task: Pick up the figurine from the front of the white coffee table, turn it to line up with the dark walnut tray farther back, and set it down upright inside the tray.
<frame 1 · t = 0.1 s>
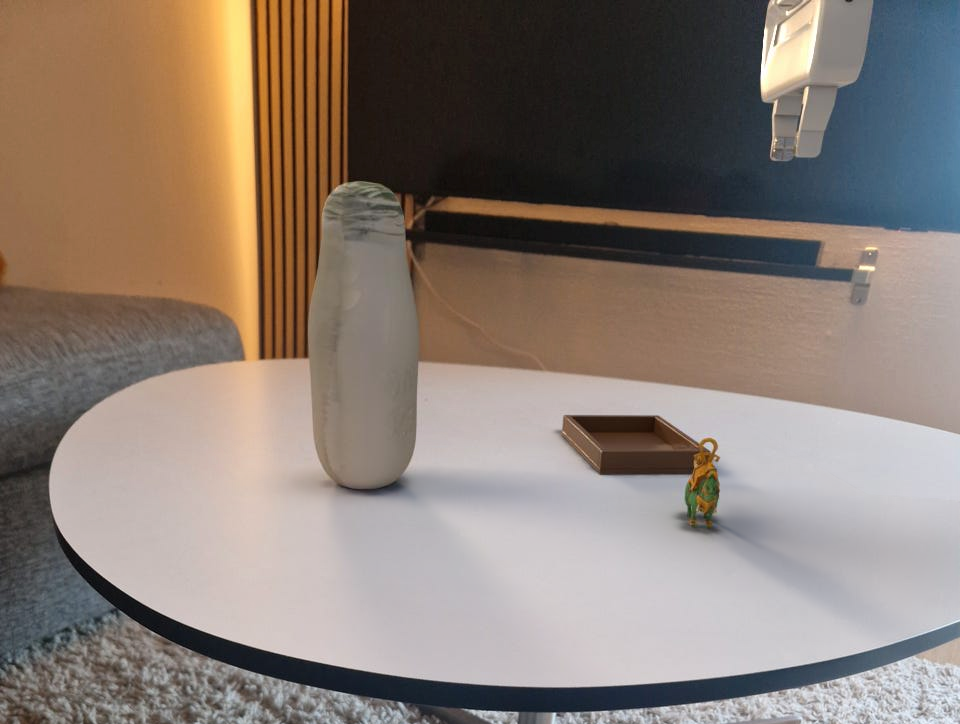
hand: (792, 159, 76), 31 cm above the table, tool pointing down, fingers open, 8 cm apart
walnut tray: (630, 453, 111), on the table
figurine: (696, 525, 88), on the table
grey tall rounded cylinder: (366, 487, 95), on the table
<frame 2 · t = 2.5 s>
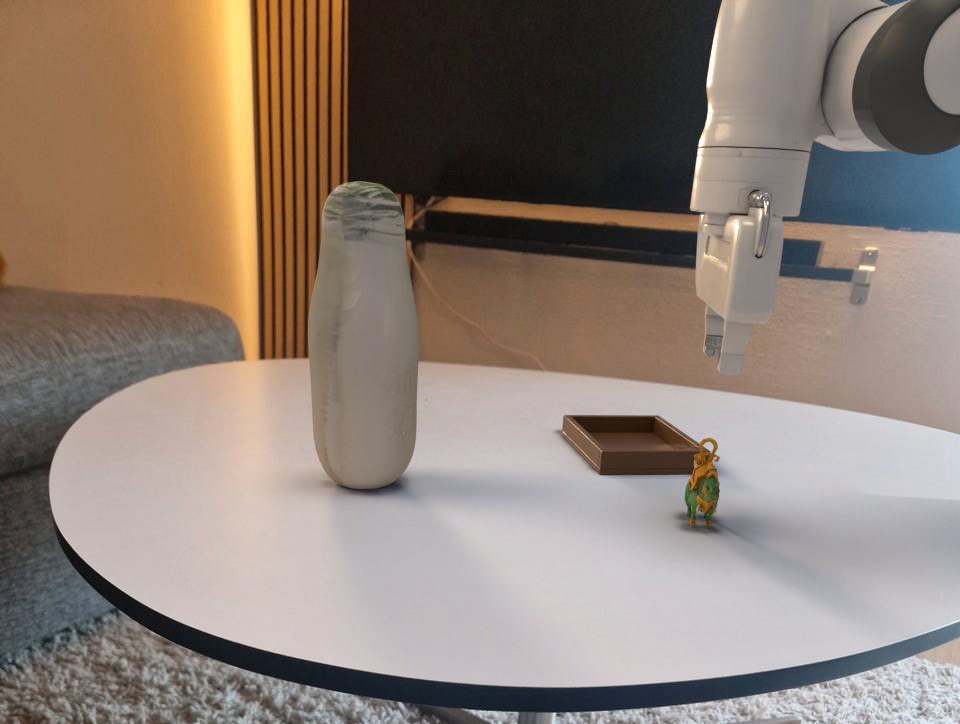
hand: (720, 364, 82), 15 cm above the table, tool pointing down, fingers open, 8 cm apart
nothing on the table moved.
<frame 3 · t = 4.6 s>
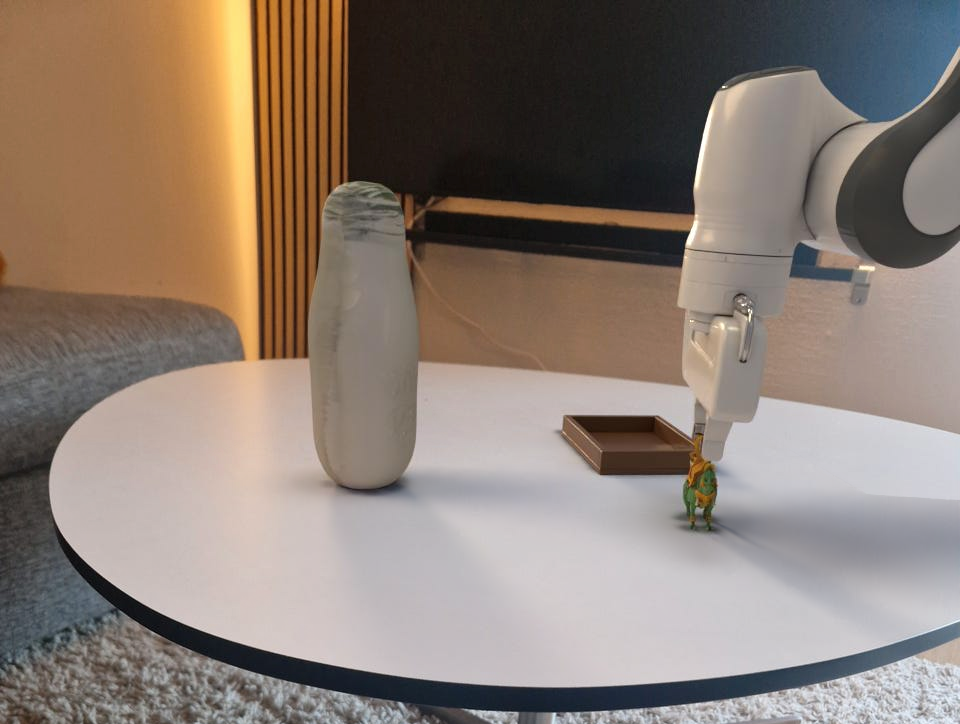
hand: (705, 450, 84), 7 cm above the table, tool pointing down, fingers closed on figurine, 4 cm apart
figurine: (696, 524, 88), on the table, touching gripper
everything else where it was.
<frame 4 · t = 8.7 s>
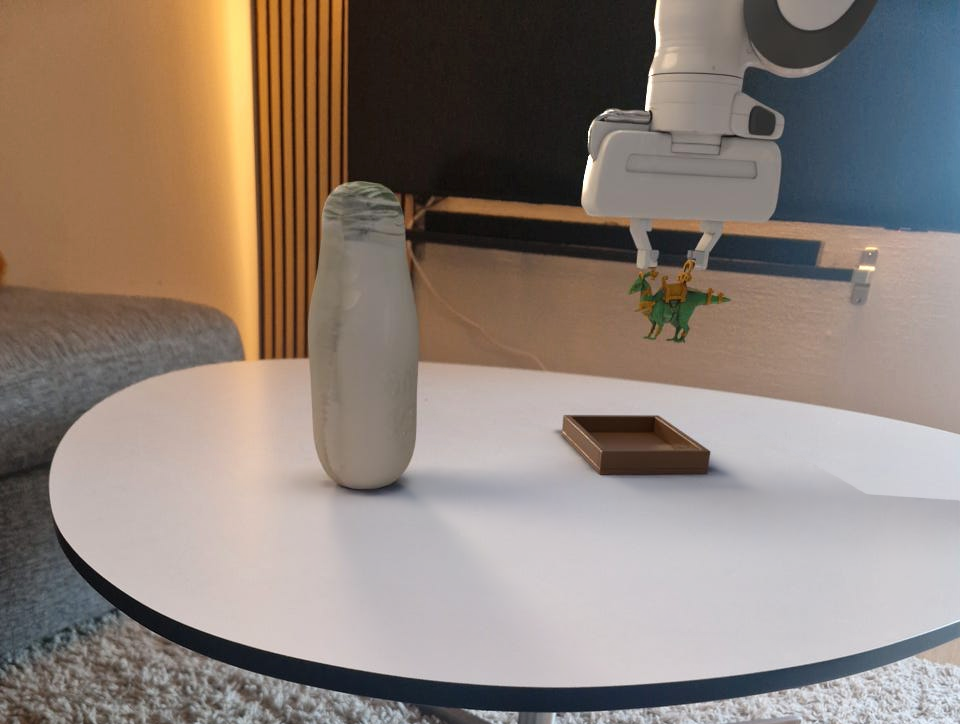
hand: (671, 269, 95), 21 cm above the table, tool pointing down, fingers closed on figurine, 4 cm apart
figurine: (672, 344, 98), point 14 cm above the table, touching gripper
everything else where it was.
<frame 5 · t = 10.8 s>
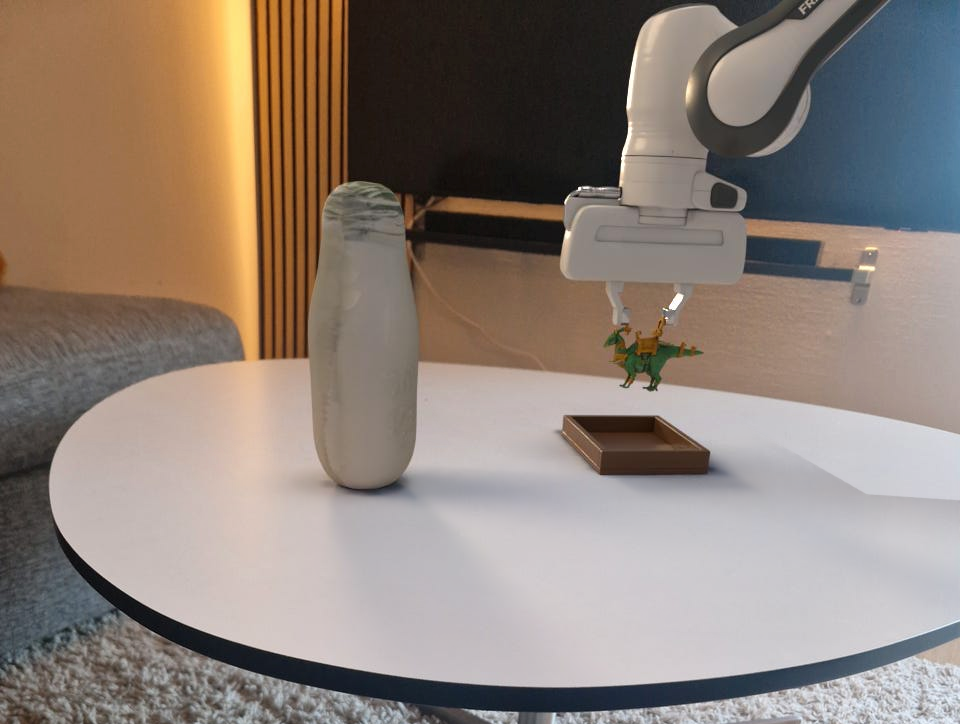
hand: (645, 325, 104), 15 cm above the table, tool pointing down, fingers closed on figurine, 4 cm apart
figurine: (646, 392, 107), point 7 cm above the table, touching gripper
everything else where it was.
when the fingers open (8 cm above the table, at t = 12.8 s): figurine stays where it is, resting on walnut tray.
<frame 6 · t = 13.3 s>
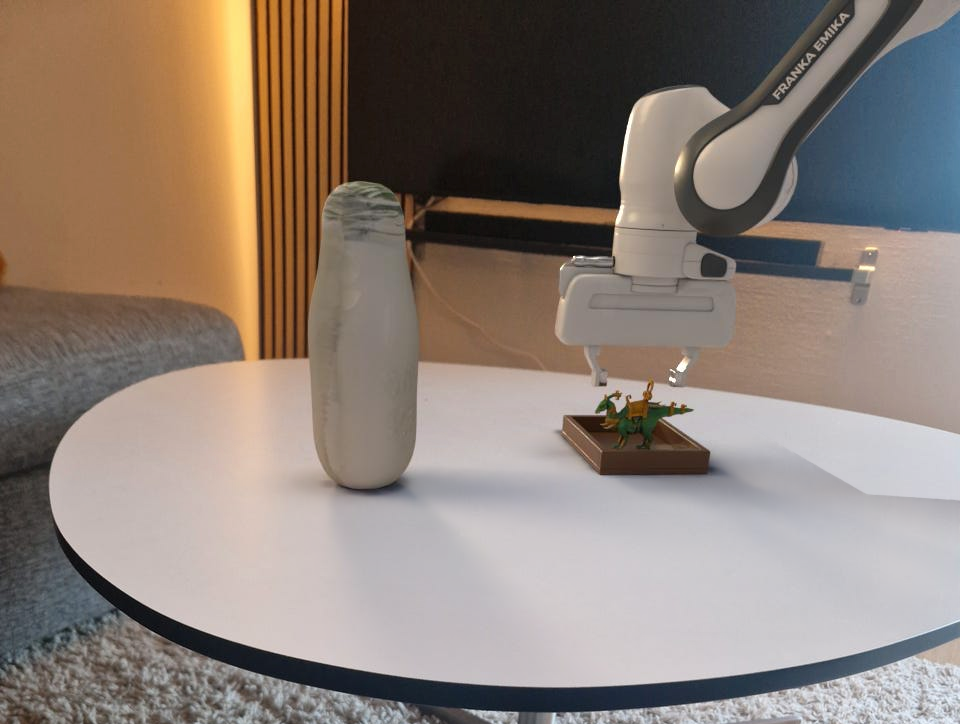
hand: (637, 386, 107), 8 cm above the table, tool pointing down, fingers open, 8 cm apart
figurine: (640, 451, 111), resting on walnut tray
everything else where it was.
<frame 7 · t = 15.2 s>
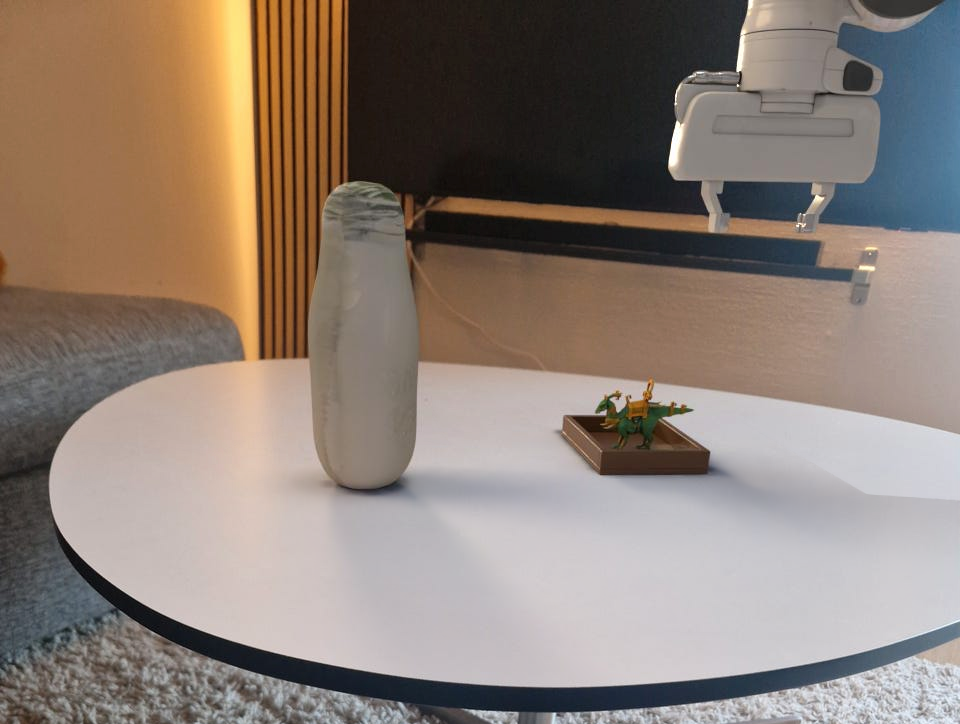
hand: (762, 232, 94), 25 cm above the table, tool pointing down, fingers open, 8 cm apart
nothing on the table moved.
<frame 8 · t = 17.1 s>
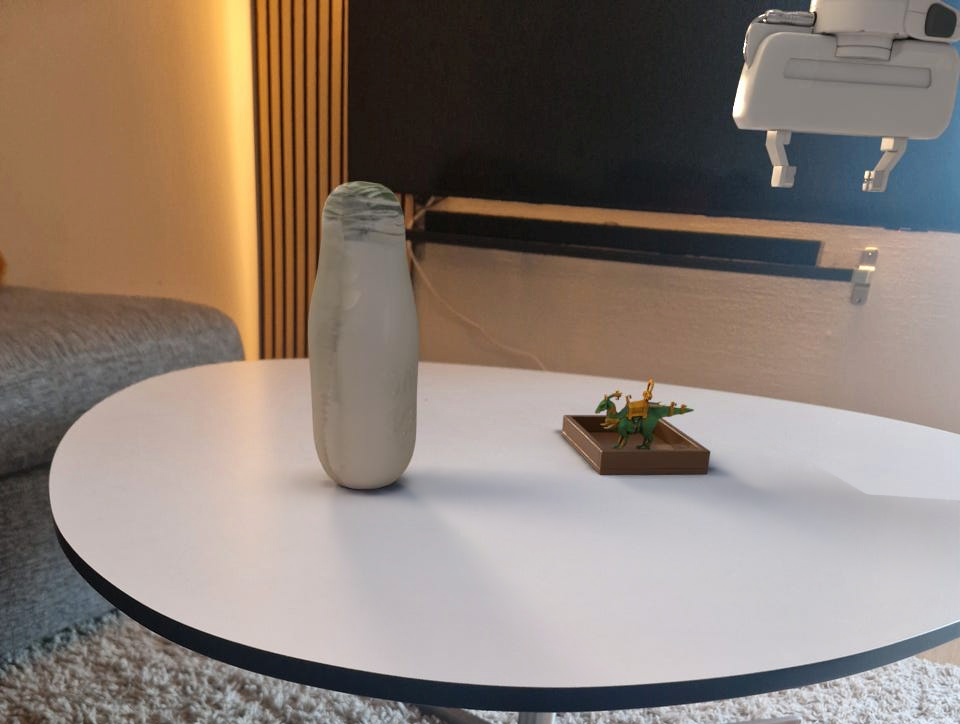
hand: (827, 189, 88), 29 cm above the table, tool pointing down, fingers open, 8 cm apart
nothing on the table moved.
at the end: figurine inside the target area in the walnut tray (1.1 cm from its centre), point 0.4 cm above the walnut tray's base; figurine tilted 0°; the gripper is holding nothing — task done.
